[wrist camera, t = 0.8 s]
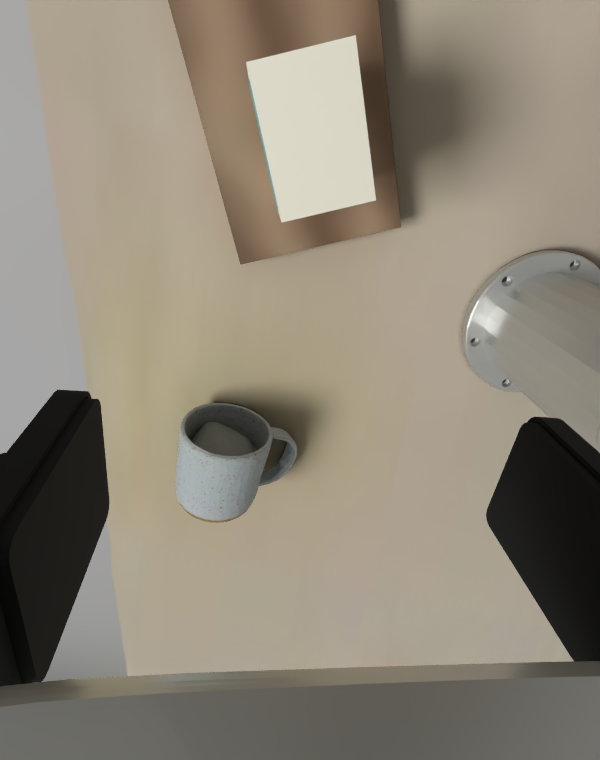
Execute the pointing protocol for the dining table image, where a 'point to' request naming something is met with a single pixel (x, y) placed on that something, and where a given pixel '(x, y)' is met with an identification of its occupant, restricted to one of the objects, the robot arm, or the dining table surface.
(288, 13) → the shelf board
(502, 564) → the dining table surface
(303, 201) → the carton
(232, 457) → the ceramic mug
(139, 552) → the dining table surface
